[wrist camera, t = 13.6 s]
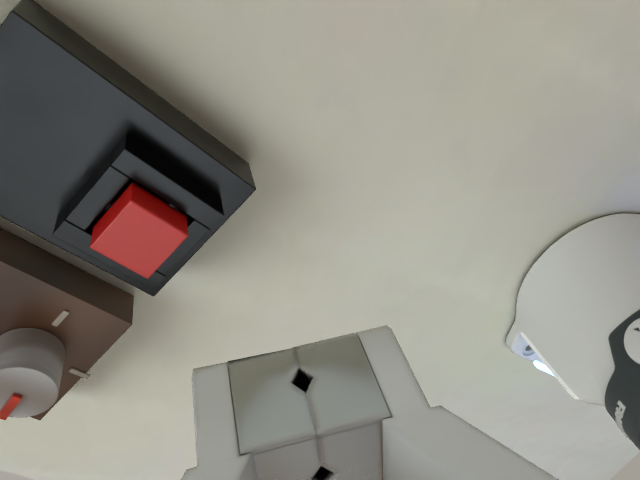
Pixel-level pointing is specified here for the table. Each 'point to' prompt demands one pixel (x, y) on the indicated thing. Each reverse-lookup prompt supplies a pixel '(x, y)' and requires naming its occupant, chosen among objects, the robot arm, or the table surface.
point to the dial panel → (60, 306)
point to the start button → (139, 231)
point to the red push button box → (100, 146)
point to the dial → (29, 371)
